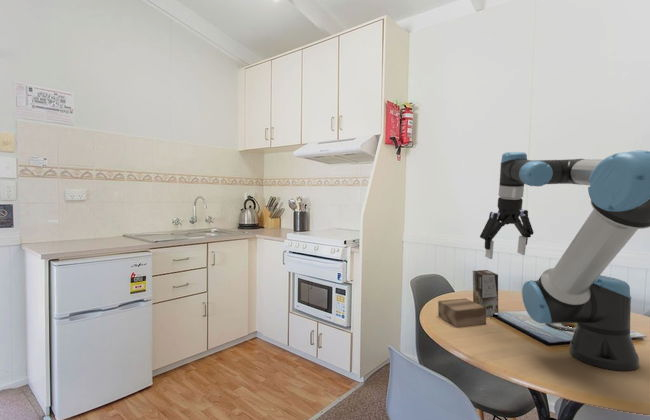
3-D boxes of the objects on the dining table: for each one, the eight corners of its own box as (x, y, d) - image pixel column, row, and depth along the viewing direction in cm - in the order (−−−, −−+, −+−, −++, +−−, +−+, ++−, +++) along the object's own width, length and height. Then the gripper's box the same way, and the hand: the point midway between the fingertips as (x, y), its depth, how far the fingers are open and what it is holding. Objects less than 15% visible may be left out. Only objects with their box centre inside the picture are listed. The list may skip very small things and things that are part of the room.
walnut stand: (486, 324, 124) (485, 307, 124) (456, 327, 122) (456, 310, 122) (466, 313, 136) (465, 298, 136) (438, 316, 134) (438, 300, 134)
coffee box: (499, 316, 132) (498, 274, 132) (482, 316, 132) (481, 274, 132) (488, 308, 141) (488, 269, 141) (472, 308, 141) (472, 269, 141)
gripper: (531, 193, 125) (526, 248, 130) (471, 198, 119) (468, 255, 124) (549, 196, 118) (542, 255, 122) (486, 202, 112) (482, 263, 117)
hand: (505, 255), depth 123 cm, fingers open, 13 cm apart
